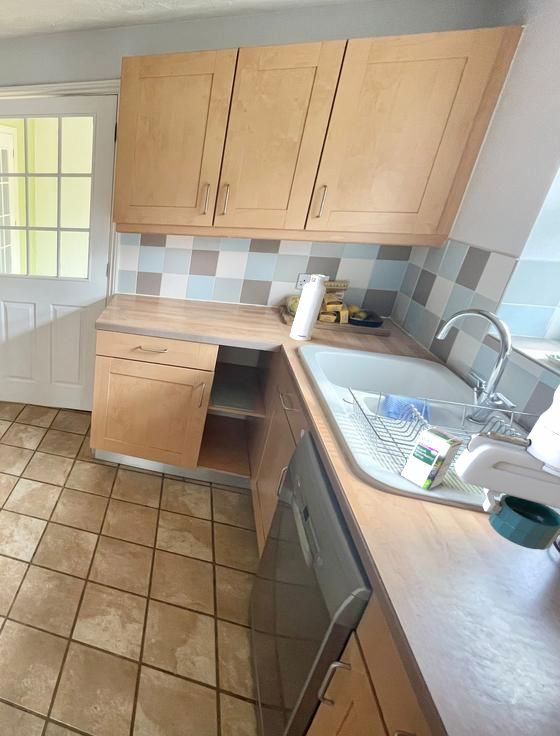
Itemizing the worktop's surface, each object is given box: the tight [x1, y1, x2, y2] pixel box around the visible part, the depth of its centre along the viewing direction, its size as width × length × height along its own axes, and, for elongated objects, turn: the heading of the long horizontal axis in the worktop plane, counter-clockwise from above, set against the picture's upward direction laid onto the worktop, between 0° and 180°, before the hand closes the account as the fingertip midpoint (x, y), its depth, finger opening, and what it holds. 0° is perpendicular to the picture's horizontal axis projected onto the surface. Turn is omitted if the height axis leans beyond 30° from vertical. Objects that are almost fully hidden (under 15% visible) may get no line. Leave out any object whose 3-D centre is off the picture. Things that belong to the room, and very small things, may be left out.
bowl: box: [488, 494, 560, 551], centre depth 65 cm, size 7×7×5 cm
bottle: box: [289, 273, 327, 342], centre depth 178 cm, size 8×8×28 cm
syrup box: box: [400, 426, 465, 491], centre depth 96 cm, size 6×6×14 cm
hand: (525, 521), depth 65 cm, fingers closed on bowl, 7 cm apart
